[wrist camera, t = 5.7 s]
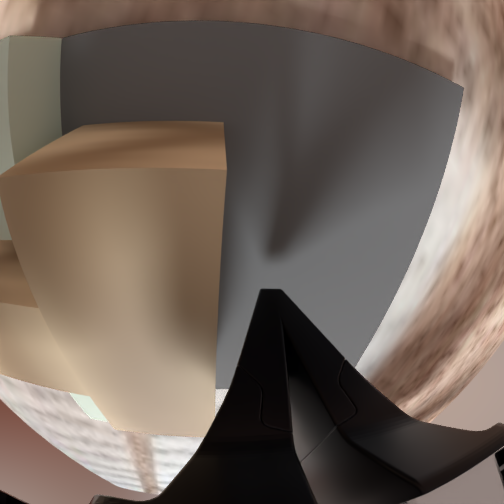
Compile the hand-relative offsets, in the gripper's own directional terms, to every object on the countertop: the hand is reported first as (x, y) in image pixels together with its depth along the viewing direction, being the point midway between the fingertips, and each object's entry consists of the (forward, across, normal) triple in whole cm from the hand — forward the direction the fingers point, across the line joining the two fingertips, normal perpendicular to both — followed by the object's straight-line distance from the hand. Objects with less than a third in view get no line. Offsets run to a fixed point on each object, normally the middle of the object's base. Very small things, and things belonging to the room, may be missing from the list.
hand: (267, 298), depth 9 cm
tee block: (+1, +6, 0) cm, 6 cm away
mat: (+2, +2, 0) cm, 3 cm away
